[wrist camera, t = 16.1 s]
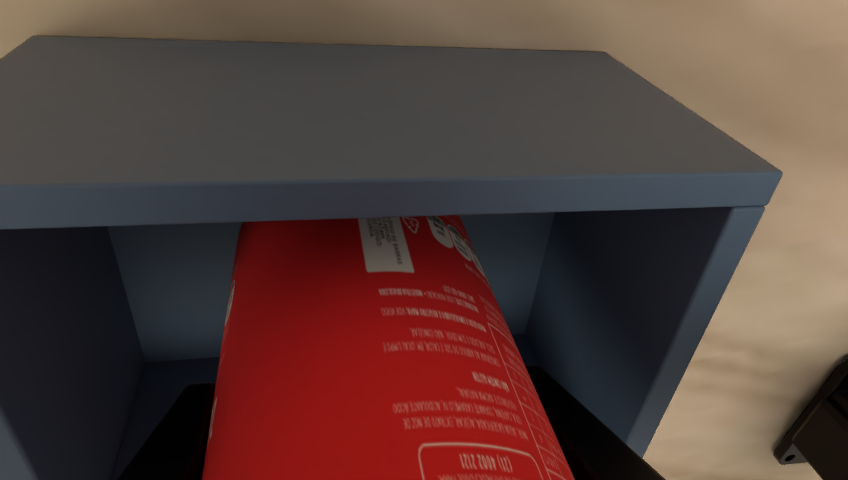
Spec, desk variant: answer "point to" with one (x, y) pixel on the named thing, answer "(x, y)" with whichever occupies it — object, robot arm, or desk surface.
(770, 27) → the desk surface
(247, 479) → the beverage can
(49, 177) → the slate grey box
